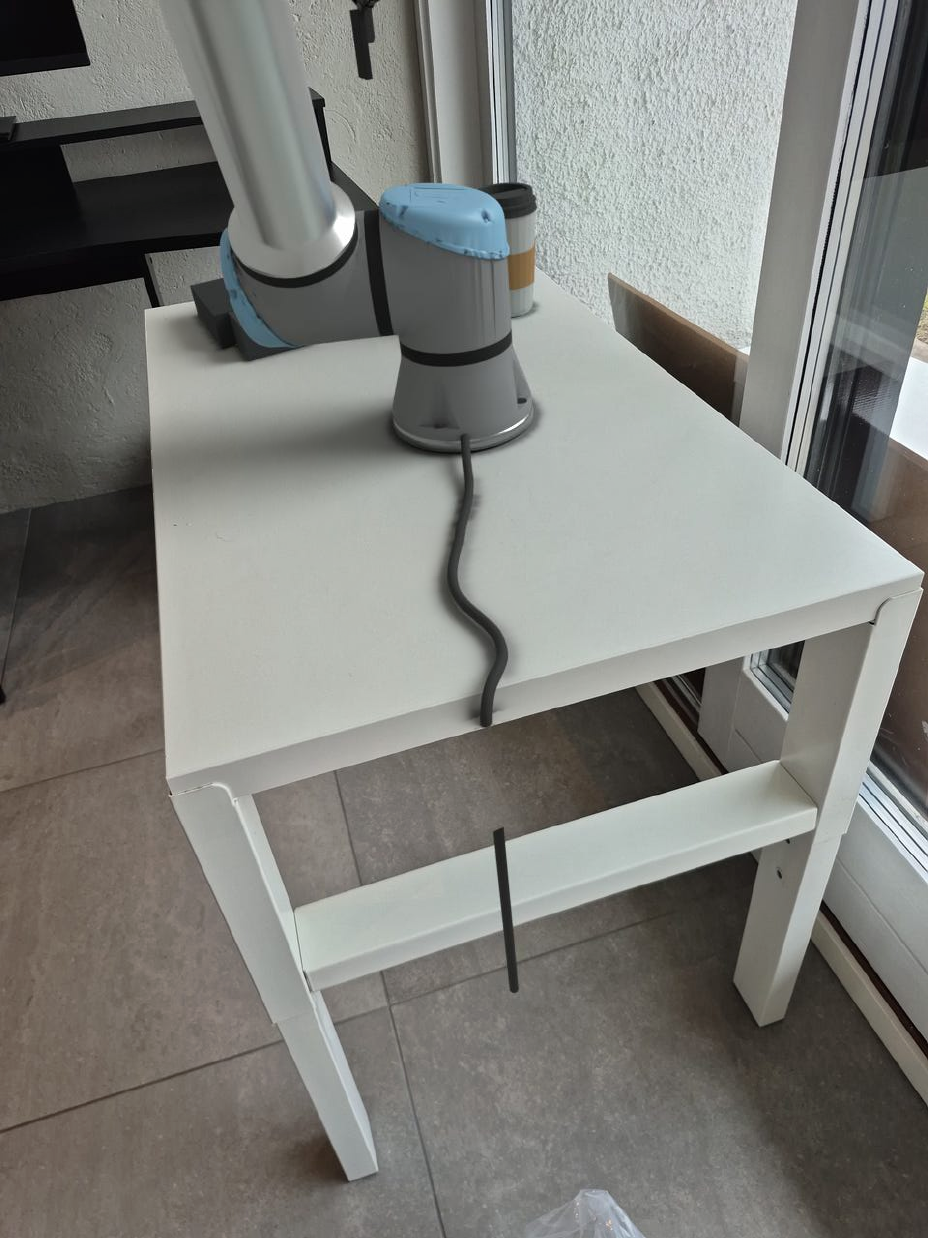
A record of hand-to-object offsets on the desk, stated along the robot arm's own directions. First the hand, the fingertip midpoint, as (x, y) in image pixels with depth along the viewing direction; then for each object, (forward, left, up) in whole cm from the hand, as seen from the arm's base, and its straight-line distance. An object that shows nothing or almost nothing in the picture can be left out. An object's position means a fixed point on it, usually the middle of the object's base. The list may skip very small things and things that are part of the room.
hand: (309, 88), depth 101 cm
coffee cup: (-5, -21, -29) cm, 36 cm away
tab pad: (+5, +10, -29) cm, 31 cm away
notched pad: (+14, +10, -29) cm, 33 cm away
